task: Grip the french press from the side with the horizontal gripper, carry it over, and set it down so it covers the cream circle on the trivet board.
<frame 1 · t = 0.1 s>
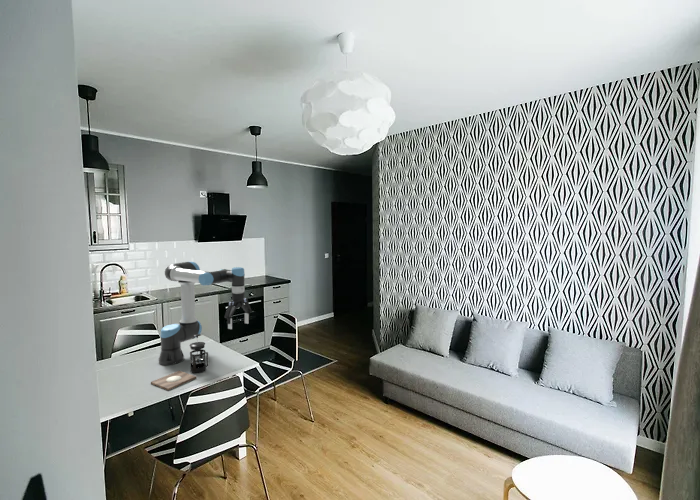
hand: (238, 326, 225), 28 cm above the table, tool pointing down, fingers open, 13 cm apart
french press: (199, 370, 225), on the table
trivet board: (173, 381, 210), on the table
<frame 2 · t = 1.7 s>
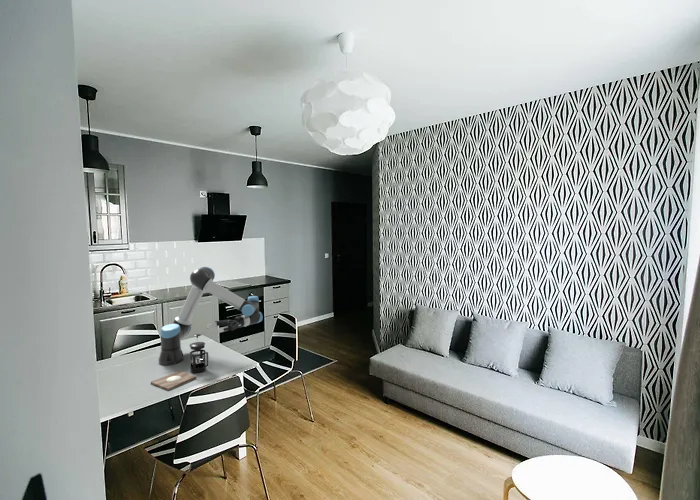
hand: (212, 328, 230), 25 cm above the table, tool horizontal, fingers open, 13 cm apart
nothing on the table moved.
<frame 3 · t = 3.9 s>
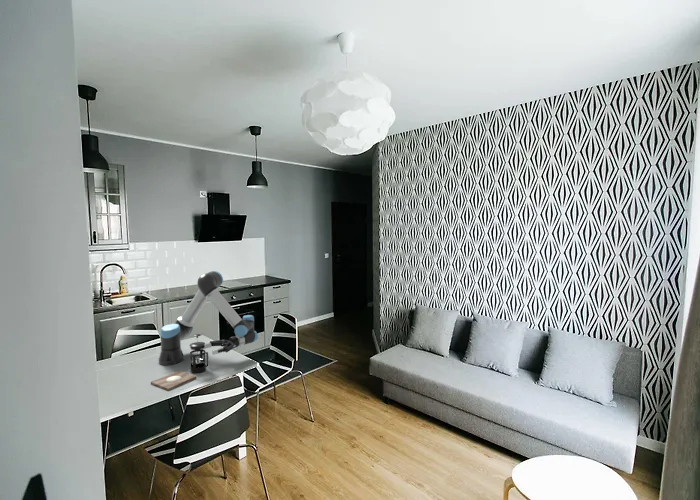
hand: (206, 350, 228), 12 cm above the table, tool horizontal, fingers open, 13 cm apart
nothing on the table moved.
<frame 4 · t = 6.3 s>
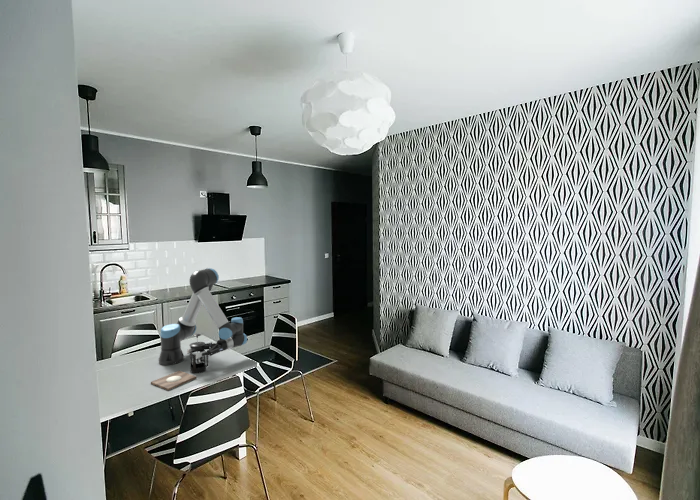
hand: (191, 353, 221), 12 cm above the table, tool horizontal, fingers closed on french press, 10 cm apart
french press: (199, 370, 225), on the table, touching gripper
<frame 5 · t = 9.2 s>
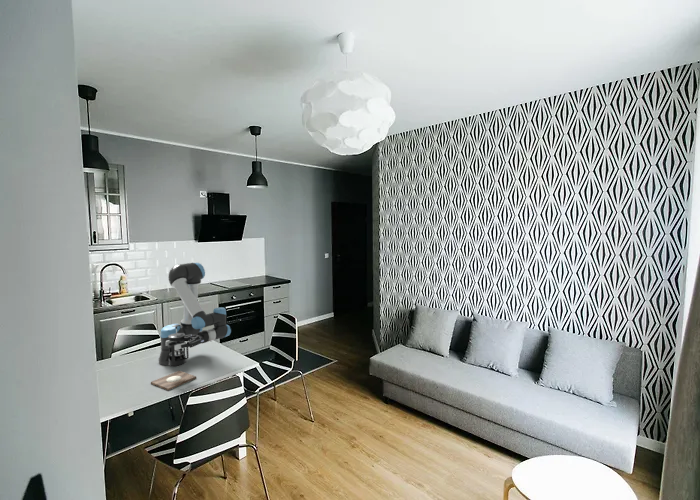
hand: (170, 345, 207), 22 cm above the table, tool horizontal, fingers closed on french press, 10 cm apart
french press: (178, 363, 211), point 10 cm above the table, touching gripper
when the fingers open (14 cm above the table, at t = 12.3 s): french press stays where it is, resting on trivet board.
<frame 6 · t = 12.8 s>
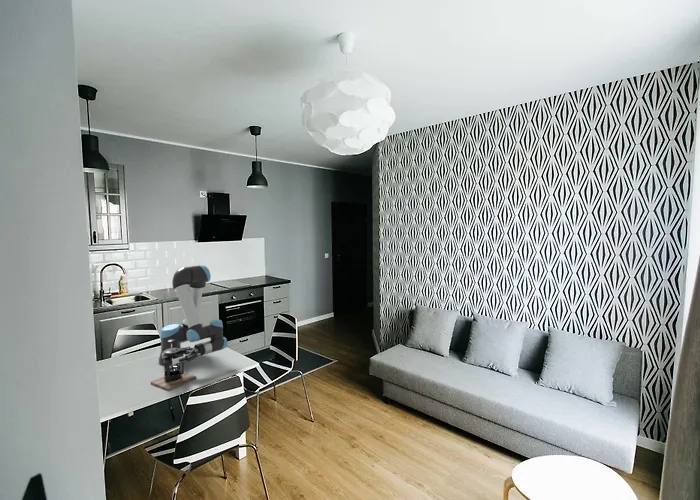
hand: (167, 358, 207), 14 cm above the table, tool horizontal, fingers open, 13 cm apart
french press: (174, 378, 211), point 1 cm above the table, touching trivet board
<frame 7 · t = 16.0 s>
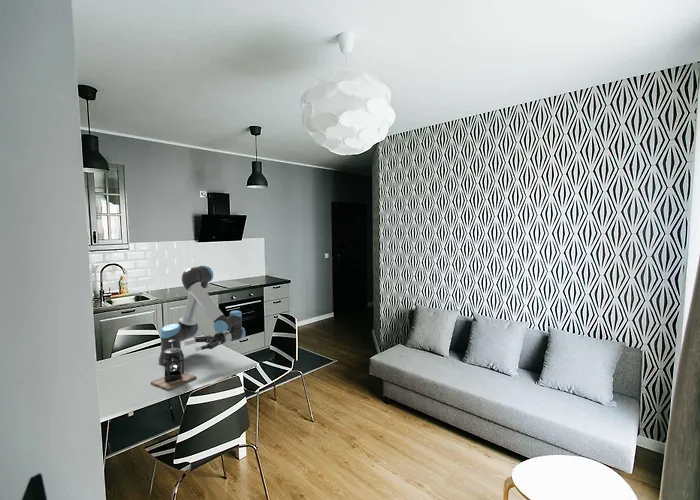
hand: (190, 346, 216), 18 cm above the table, tool horizontal, fingers open, 13 cm apart
nothing on the table moved.
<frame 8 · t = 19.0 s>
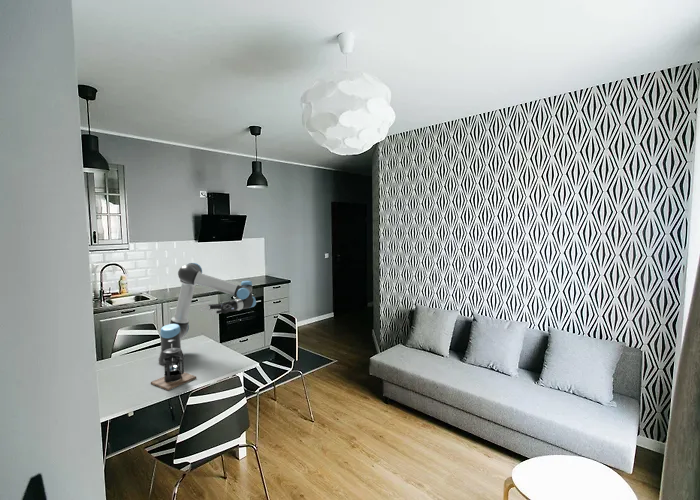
hand: (205, 311, 233), 35 cm above the table, tool horizontal, fingers open, 13 cm apart
nothing on the table moved.
at the end: french press 0.3 cm from the trivet board (horizontally); french press tilted 0°; french press touching trivet board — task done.
